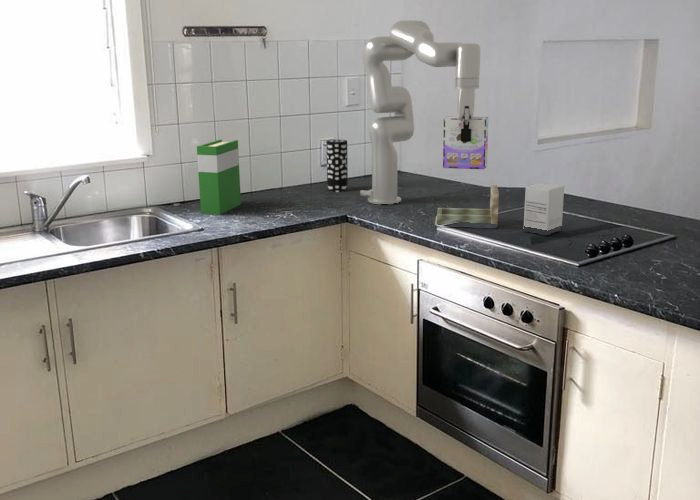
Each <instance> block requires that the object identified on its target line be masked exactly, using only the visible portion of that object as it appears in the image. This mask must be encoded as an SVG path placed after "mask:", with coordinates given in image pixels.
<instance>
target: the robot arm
mask: <svg viewBox="0 0 700 500" xmlns="http://www.w3.org/2000/svg"><path fill="white" fill-rule="evenodd" d="M413 55H415V56H416V58H417V60H418V61H419V62H421V63H424V64H426V65H428V66H430V67H433V68H444V67H445V68H447V67H448V68H450V67H451V68H452V67H453V68H454V67H455V78H454V79H455V80H454V82H455V87H454V89H458V90H457V91H458V92H457V114H456V115H457V116H456V117H457V119H458V120H460V119H462V129H461V142H470V141H471V120H472V119H473V117H474V112H475V102H476V101H475V100H476V89H480V76H481V75H480V72H481V45H479V43H475V42H473V43H472V42H471V43H470V42H469V43H468V42H467V43H465V42H464V43H463V42H435V38H434V34H433V32H432V31H431V29H430V27H429V25H428V24H427V23H426V22H425V21H423V20H399V21H396V22H395V23H394V24H393V25H391V27H390V31H389V36H376V37H372V38H370V39H368V40H367V41H366V42H365V43H364V45H363V48H362V61H363V62H362V63H363V65H364V66H363V67H364V69H365V72H366V77H367V88H368V94H369V95H368V96H369V103H370V108H371V110H372V111H373V112H374V113H376V114H389V113H390V114H391V113H393V115H394V116H392V115H391V116H381V117H378V118H374V119H373V120H372V121H371V123H370V125H369V126H368V127H369V128H368V132H369V138H370V146H371V189H368V190H366V189H365V190H361V189H360V191H359V193H360V194H359V195H360V196H362V197H368V198H367V202H368V203H370V204H372V205H373V204H374V205H381V204H388V205H394V204H393V203H397V204H400V203H401V202H402V198H401V197H400V196H398V152H397V150H396V147H395V146H394V144H393V143H399V142H405V141H406V142H407V141H410V140H411V139H412V138H413V136H414V133H415V120H414V111H413V110H414V109H413V103H412V102H413V101H412V97H411V94H410V92H409V91H408V89H407V88H406V87H405V86H400V85H399V86H398V85H394V86H393V84H392V77H391V72H390V71H389V69H388V67H387V66H386V65H385V63H384V62H389V61H390V62H395V61H396V62H397V61H405V60H408V59H409V58H411V57H413ZM469 117H470V119H469ZM463 118H465V119H463ZM399 202H400V203H399Z"/></svg>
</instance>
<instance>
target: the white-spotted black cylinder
mask: <svg viewBox="0 0 700 500" xmlns="http://www.w3.org/2000/svg"><path fill="white" fill-rule="evenodd" d="M348 164H349V163H348V140H346V139H328V140H326V177H327V178H326V184H327V185H326V187H327V188H326V189H327V191H328V192H330V193H344V192H347V191H348V190H349V187H348V186H349V184H348V183H349V181H348V177H349V174H348Z"/></svg>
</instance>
